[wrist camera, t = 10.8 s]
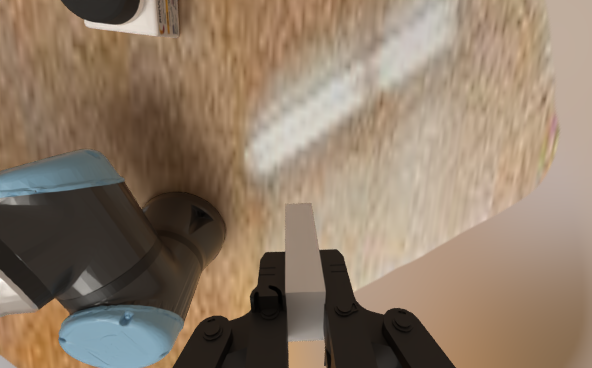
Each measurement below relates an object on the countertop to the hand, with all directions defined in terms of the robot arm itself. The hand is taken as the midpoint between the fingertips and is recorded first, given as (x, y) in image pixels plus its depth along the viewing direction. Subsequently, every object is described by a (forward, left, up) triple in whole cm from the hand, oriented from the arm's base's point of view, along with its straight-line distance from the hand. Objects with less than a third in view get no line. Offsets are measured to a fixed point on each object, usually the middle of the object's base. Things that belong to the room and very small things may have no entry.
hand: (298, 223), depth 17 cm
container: (-18, +15, -30) cm, 38 cm away
